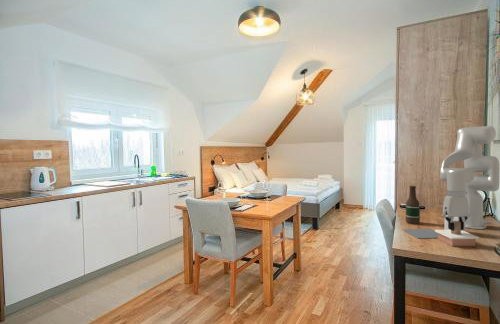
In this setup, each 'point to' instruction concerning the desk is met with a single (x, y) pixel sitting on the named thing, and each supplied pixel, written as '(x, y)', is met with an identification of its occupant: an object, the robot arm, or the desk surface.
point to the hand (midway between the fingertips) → (455, 229)
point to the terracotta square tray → (456, 241)
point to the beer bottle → (412, 207)
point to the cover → (457, 232)
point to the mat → (422, 233)
